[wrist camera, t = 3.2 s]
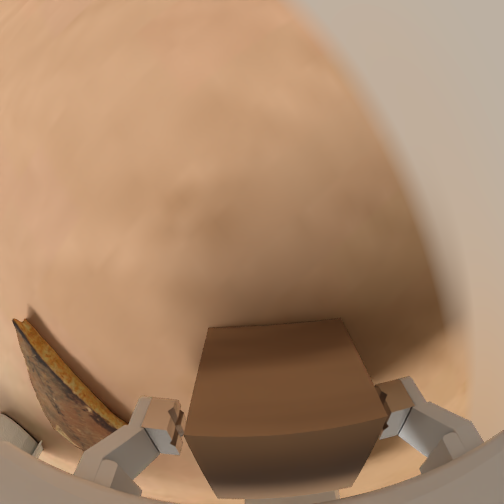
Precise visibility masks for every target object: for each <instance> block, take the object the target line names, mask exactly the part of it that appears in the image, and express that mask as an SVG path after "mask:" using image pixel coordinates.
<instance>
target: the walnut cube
mask: <svg viewBox="0 0 504 504" xmlns="http://www.w3.org/2000/svg"><path fill="white" fill-rule="evenodd" d="M386 419H387V413H386V411H385V409H384V407H383V404H382V402H381V400H380V398H379V396H378V393H377V391H376V389H375V387H374V385H373V383H372V381H371V379H370V376H369V374H368V372H367V370H366V368H365V366H364V364H363V362H362V360H361V358H360V356H359V354H358V352H357V350H356V348H355V346H354V344H353V342H352V340H351V338H350V336H349V334H348V332H347V330H346V328H345V326H344V324H343V322H342V320H341V318H337V319H329V320H320V321H310V322H300V323H289V324H276V325H262V326H246V327H224V328H208V332H207V336H206V340H205V344H204V348H203V352H202V357H201V361H200V365H199V369H198V373H197V378H196V382H195V386H194V390H193V395H192V399H191V403H190V408H189V412H188V417H187V421H186V426H185V430H184V437H185V439H186V441H187V443H188V445H189V447H190V449H191V451H192V453H193V455H194V457H195V459H196V461H197V463H198V465H199V467H200V469H201V470H202V472H203V474H204V476H205V478H206V479H207V481H208V483H209V485H210V486H211V488H212V490H213V491H214V493H215V495H216V496H217V498H219V499H267V498H283V497H293V496H302V495H310V494H317V493H323V492H329V491H334V490H339V489H344V488H348V487H352V485H353V483H354V482H355V480H356V478H357V477H358V475H359V473H360V471H361V470H362V468H363V466H364V464H365V462H366V460H367V459H368V457H369V455H370V453H371V451H372V449H373V447H374V445H375V443H376V441H377V439H378V436H379V434H380V432H381V430H382V428H383V426H384V423H385V421H386Z"/></svg>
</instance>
